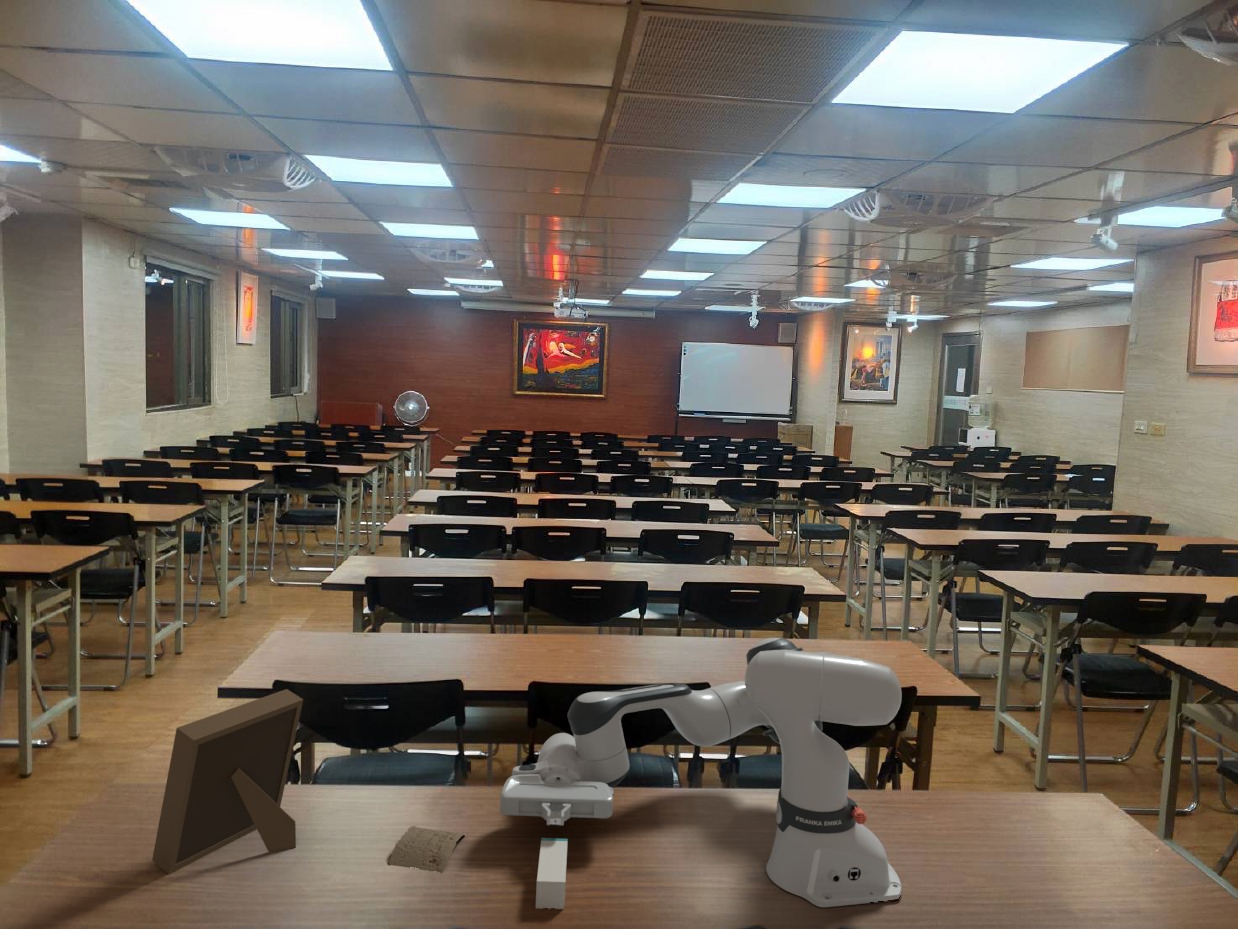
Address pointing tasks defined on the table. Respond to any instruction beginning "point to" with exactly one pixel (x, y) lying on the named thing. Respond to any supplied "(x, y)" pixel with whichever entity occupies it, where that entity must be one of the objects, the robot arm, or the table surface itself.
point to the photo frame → (229, 781)
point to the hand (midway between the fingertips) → (555, 821)
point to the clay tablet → (424, 849)
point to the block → (551, 873)
